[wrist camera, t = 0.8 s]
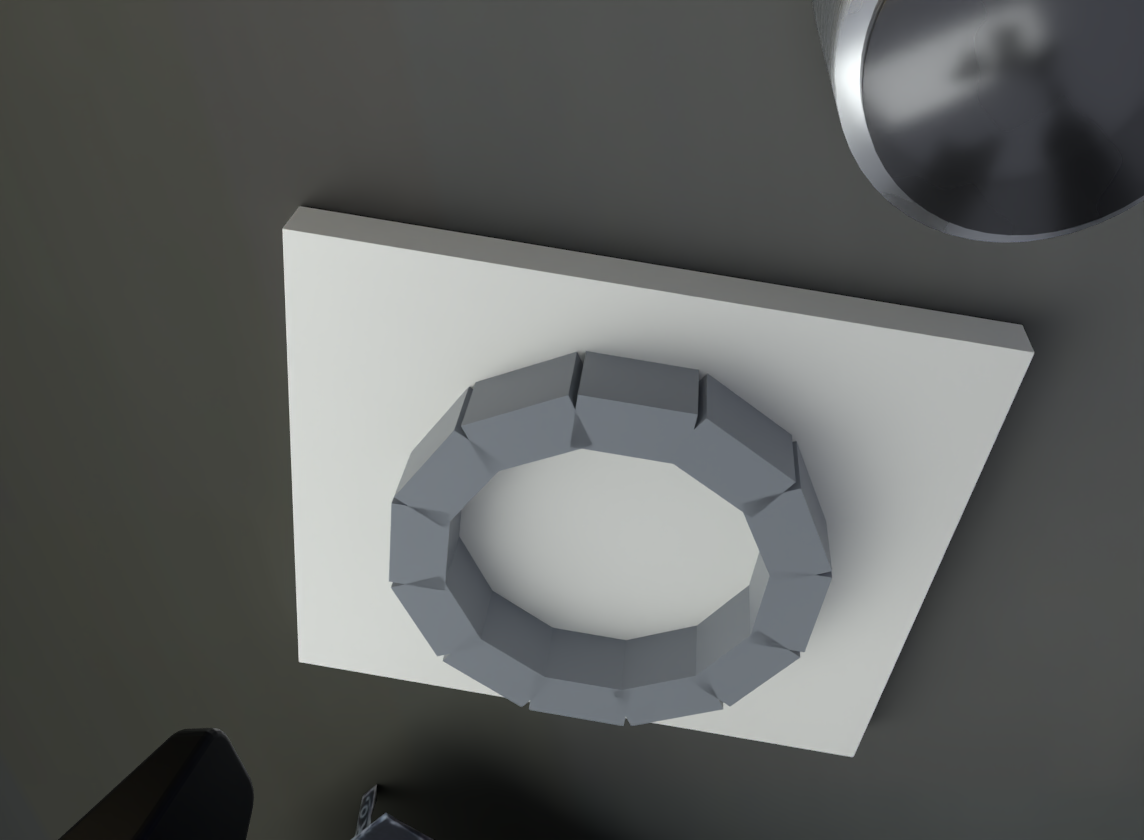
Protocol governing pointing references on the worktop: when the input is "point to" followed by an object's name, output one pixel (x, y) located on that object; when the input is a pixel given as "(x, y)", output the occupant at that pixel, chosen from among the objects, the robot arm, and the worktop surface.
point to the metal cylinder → (992, 109)
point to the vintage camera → (382, 823)
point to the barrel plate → (622, 477)
